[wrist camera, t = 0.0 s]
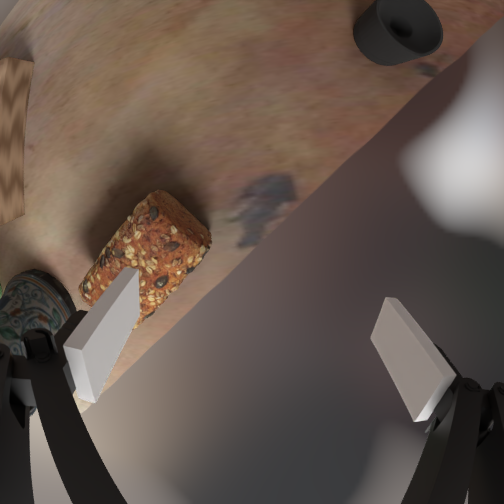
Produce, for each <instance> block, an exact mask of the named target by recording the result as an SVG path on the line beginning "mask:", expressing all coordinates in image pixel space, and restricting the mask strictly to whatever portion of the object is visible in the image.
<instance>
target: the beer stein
mask: <svg viewBox="0 0 504 504" xmlns="http://www.w3.org/2000/svg"><path fill="white" fill-rule="evenodd" d="M75 312H77V311H76V308H75V305H74V303H73V301H72V299H71V297H70V295H69V293H68V292H67V291H66V289H65V288H64V287H63V285H62V284H61V283H60V282H59V281H57V280H56V279H55V278H53V277H52V276H51V275H50V274H48V273H45V272H42V271H39V270H36V269H33V270H29V271H25V272H22V273H21V274H19V275H16V276H15V277H13V278H12V279H11V280H10V281H9V283H8V284H7V286H6V289H5V292H4V294H3V296H2V297H1V299H0V343H1V344H5V345H7V346H8V347H9V349H10V351H11V353H12V355H23V356H25V354H24V351H23V348H22V345H21V337H22V336H23V334H24V333H25V332H27V331H28V330H30V329H33V328H45V329H48V330H49V331H51V332H52V334H53V336H54V335H55V334H56V333H57V332H58V330H59V329H60V328H61V327H62V326H63V324H64V323H66V321H67V319H68V318H69V317H70V316H71V315H72V314H74V313H75ZM36 409H37V406H30V416H31V415H33V413H34V412H35V411H36Z"/></svg>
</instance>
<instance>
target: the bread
mask: <svg viewBox="0 0 504 504" xmlns="http://www.w3.org/2000/svg"><path fill="white" fill-rule="evenodd" d="M211 236H212V235H211V233H210V232H209V231H208V230H207V228H206V227H205V226H204V225H203V224H202V223H201V222H200V221H199V220H197V219H196V218H195V217H194V215H193V214H191V213H190V212H189V211H188V210H187V209H186V208H185V207H184V205H182V204H181V203H180V202H179V201H178V200H177V199H175V198H174V197H173V196H172V195H171V194H169V193H168V192H166V191H163V190H159V189H158V190H157V191H155V192H151V193H150V194H149V195H148V196H147V197H146V199H144V200H143V201H141V202H140V203H138V205H137V206H136V208H135V209H134V211H133V213H132V215H129V216H128V218H127V220H126V221H125V222H124V223H123V224H122V225H121V226H120V228H119V229H118V230H117V232H116V233H115V234H114V235H113V237H112V238H111V240H110V241H109V242H108V244H107V245H106V247H104V248H103V250H102V252H101V253H100V255H99V257H98V258H97V260H96V262H95V264H94V265H93V267H92V268H91V269H90V270H89V271H88V273H87V274H86V276H85V277H84V280H83V281H82V283H81V284H80V285H79V293H80V295H81V298H82V300H83V301H84V302H87V303H88V305H90V306H91V307H92V306H93V305H94V304H95V303H96V301H97V300H98V299H99V298H100V296H101V295H102V294H103V293H104V292H105V290H106V289H107V288H108V287H109V285H110V284H111V283H112V282H113V281H114V279H115V278H116V277H117V276H118V275H119V273H120V272H121V271H122V270H123V269H124V267H127V268H134V269H139V304H140V316H139V318H138V320H137V322H136V323H135V325H134V327H133V329H135V328H137V327H138V325H140V324H142V323H143V321H144V320H145V319H146V318H148V317H149V316H151V315H153V313H154V312H155V310H156V309H157V308H159V307H160V305H161V304H162V303H164V301H165V300H166V299H167V298H168V295H169V294H170V293H171V292H173V291H175V290H177V289H178V288H179V285H180V284H181V283H182V282H183V280H184V279H185V278H186V276H187V275H188V274H189V273H190V272H192V271H193V270H194V269H195V267H196V266H197V265H199V264H200V262H201V261H202V259H203V258H204V256H205V254H206V253H207V252H208V251H209V249H210V246H211V245H212V240H211V239H212V238H211ZM133 329H132V330H133Z"/></svg>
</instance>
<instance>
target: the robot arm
mask: <svg viewBox="0 0 504 504" xmlns="http://www.w3.org/2000/svg"><path fill="white" fill-rule="evenodd" d="M139 316H140V304H139V269H134V268H127V267H124V269H123V270H122V271H121V272H120V273H119V275H118V276H117V277H116V278H115V279H114V281H113V282H112V283H111V284H110V285H109V287H108V288H107V289H106V290H105V292H104V293H103V294H102V295H101V296H100V298H99V299H98V300H97V301H96V303H95V304H94V305H93V306H92V308H91V309H90V310H89V312H88V311H84V310H79V311H77V312H75V313H74V314H72V315H71V316H70V317H69V318H68V319H67V321H66V323H64V324H63V326H62V327H61V328H60V329H59V330H58V332H57V333H56V334H55V335H54V336H53V334H52V332H51V331H49V330H48V329H45V328H33V329H30V330H28V331H27V332H25V333H24V334H23V336H22V337H21V345H22V348H23V351H24V354H25V356H23V355H12V353H11V351H10V349H9V347H8V346H7V345H5V344H1V343H0V504H34V498H33V489H32V479H31V466H30V441H29V420H30V418H29V417H30V406H37V409H38V412H39V416H40V420H41V423H42V427H43V430H44V432H45V436H46V439H47V442H48V445H49V448H50V451H51V454H52V456H53V459H54V462H55V464H56V467H57V469H58V472H59V474H60V476H61V479H62V481H63V484H64V486H65V488H66V490H67V493H68V495H69V497H70V499H71V501H72V503H73V504H127V502H126V501H125V499H124V498H123V496H122V494H121V493H120V491H119V489H118V488H117V486H116V484H115V483H114V481H113V479H112V478H111V476H110V474H109V472H108V470H107V469H106V467H105V465H104V463H103V461H102V459H101V457H100V456H99V453H98V452H97V450H96V448H95V446H94V443H93V442H92V439H91V437H90V435H89V433H88V431H87V429H86V426H85V424H84V422H83V420H82V418H81V415H80V413H79V410H78V408H77V405H76V403H75V400H74V398H73V393H74V391H75V389H76V392H77V395H78V398H79V399H82V400H85V401H89V402H92V403H96V401H97V400H98V398H99V395H100V393H101V391H102V389H103V387H104V385H105V383H106V381H107V379H108V377H109V375H110V372H111V370H112V368H113V366H114V364H115V362H116V360H117V358H118V356H119V354H120V352H121V350H122V348H123V346H124V345H125V343H126V341H127V339H128V337H129V335H130V333H131V331H132V329H133V327H134V325H135V323H136V322H137V320H138V318H139ZM371 340H372V342H373V344H374V346H375V347H376V349H377V351H378V353H379V355H380V357H381V358H382V360H383V362H384V364H385V366H386V368H387V370H388V372H389V373H390V375H391V377H392V379H393V381H394V383H395V385H396V387H397V389H398V391H399V393H400V395H401V397H402V398H403V401H404V402H405V405H406V407H407V408H408V411H409V413H410V414H411V417H412V419H413V421H414V422H417V421H423V420H427V419H428V418H429V416H430V415H431V413H432V412H433V411H434V412H435V414H436V418H435V419H434V420H433V421H432V423H431V424H430V425H429V427H428V428H427V430H426V431H425V433H427V432H428V431H429V430H430V432H429V435H428V438H427V441H426V444H425V447H424V449H423V452H422V455H421V457H420V460H419V463H418V465H417V468H416V470H415V473H414V475H413V478H412V480H411V482H410V485H409V487H408V489H407V491H406V493H405V496H404V498H403V500H402V502H401V504H464V502H465V499H466V495H467V491H468V504H504V383H502V382H496V383H494V385H493V386H492V388H491V389H490V390H485V389H482V388H481V386H480V384H478V383H477V382H476V381H475V380H473V379H471V378H463V377H462V376H461V374H460V373H459V372H458V370H457V369H456V368H455V366H454V365H453V364H452V363H451V362H450V360H449V358H448V357H446V355H445V353H444V352H443V350H442V349H441V348H440V347H438V346H437V345H436V344H434V343H432V342H431V340H430V339H429V338H428V336H427V335H426V334H425V333H424V331H423V330H422V329H421V327H420V326H419V325H418V324H417V322H416V321H415V320H414V319H413V317H412V316H411V315H410V314H409V312H408V311H407V310H406V309H405V308H404V306H403V305H402V304H401V303H400V302H399V300H397V298H388V297H387V298H385V300H384V303H383V306H382V309H381V311H380V314H379V317H378V320H377V322H376V325H375V328H374V330H373V333H372V335H371ZM493 423H494V425H493V429H492V431H491V430H490V426H491V425H492V424H493Z"/></svg>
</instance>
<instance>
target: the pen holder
mask: <svg viewBox="0 0 504 504" xmlns="http://www.w3.org/2000/svg"><path fill="white" fill-rule="evenodd" d="M354 39H355V42H356V44H357V46H358V48H359V49H360V51H361V52H362V53H363V54H364V55H365V56H366V57H367V58H368V59H370V60H371V61H373V62H375V63H377V64H380V65H385V66H391V65H396V64H400V63H403V62H407V61H410V60H413V59H417V58H420V57H424V56H427V55H430V54H432V53H433V52H435V51H436V50H437V49H438V48H439V47H440V45H441V43H442V40H443V29H442V25H441V23H440V20H439V18H438V16H437V14H436V13H435V11H434V10H433V9H432V8H431V6H430V5H429V4H428V3H427V2H426V1H424V0H375V1H374V2H373V3H372V4H371V6H370V7H369V8H368V9H367V10H366V11H365V12H364V13H363V14H362V16H361V17H360V18H359V19H358V21H357V22H356V24H355V27H354Z"/></svg>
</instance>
